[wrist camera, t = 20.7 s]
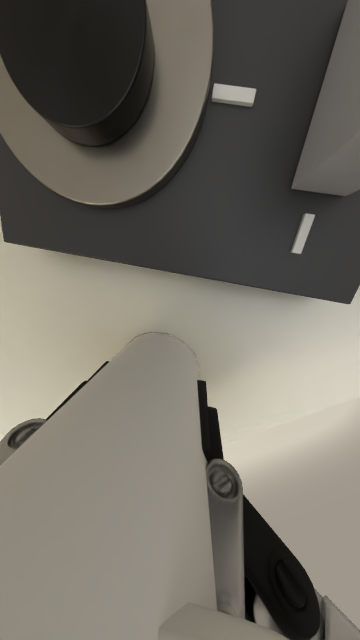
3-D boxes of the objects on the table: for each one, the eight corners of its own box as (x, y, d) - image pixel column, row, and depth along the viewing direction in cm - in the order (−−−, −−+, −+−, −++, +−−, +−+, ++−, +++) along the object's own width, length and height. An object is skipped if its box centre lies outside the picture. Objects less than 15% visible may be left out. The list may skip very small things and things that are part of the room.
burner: (7, 194, 7) (-39, 176, 6) (-34, -129, 5) (-129, -290, 4) (188, 224, 7) (186, 213, 6) (242, -107, 5) (262, -276, 3)
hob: (47, 247, 10) (-1, 241, 8) (25, -79, 7) (-80, -287, 4) (338, 299, 10) (388, 311, 7) (495, -35, 6) (713, -256, 3)
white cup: (95, 352, 12) (-247, 641, 3) (173, 307, 11) (-6, 620, 1) (146, 418, 14) (31, 760, 4) (222, 387, 12) (310, 820, 3)
